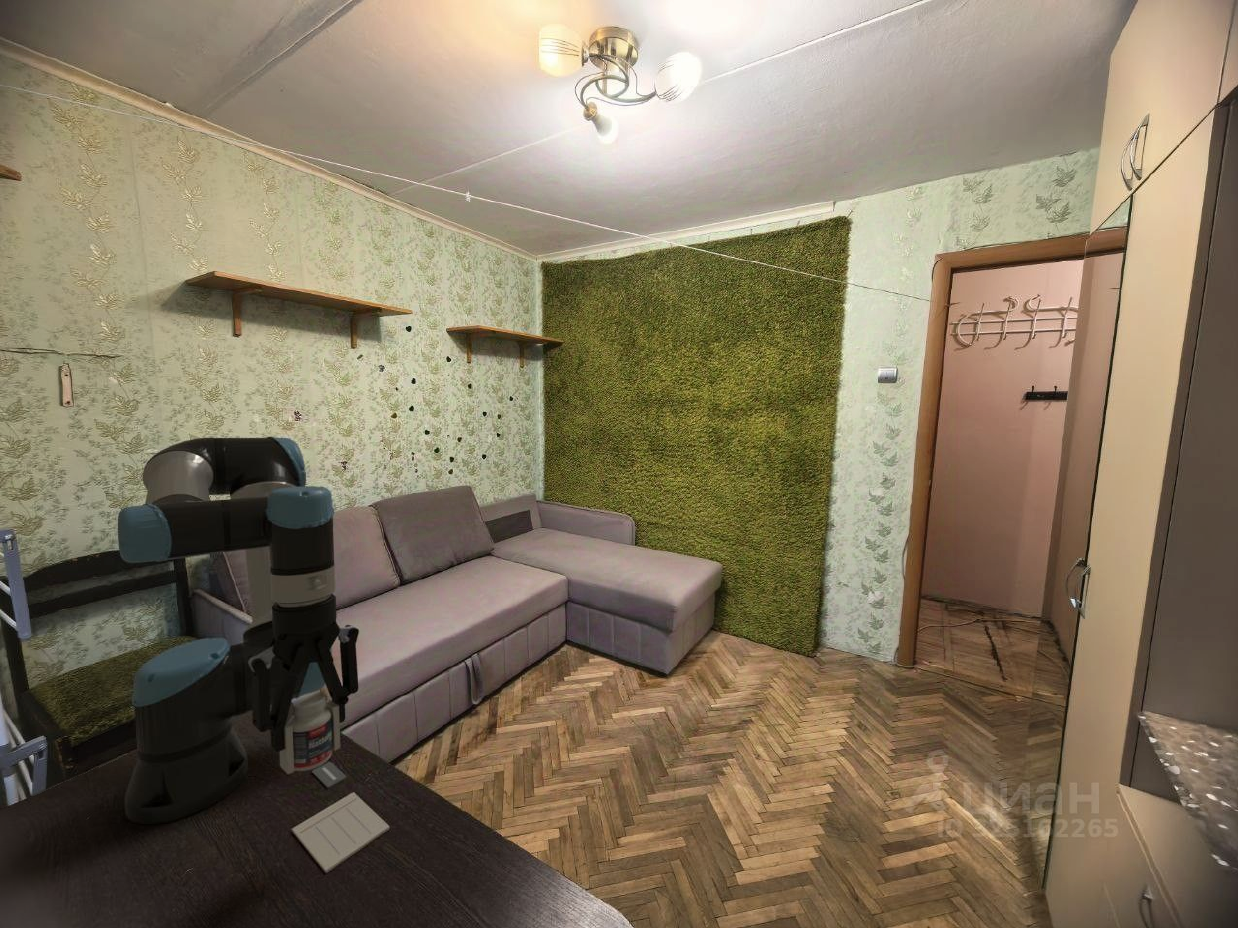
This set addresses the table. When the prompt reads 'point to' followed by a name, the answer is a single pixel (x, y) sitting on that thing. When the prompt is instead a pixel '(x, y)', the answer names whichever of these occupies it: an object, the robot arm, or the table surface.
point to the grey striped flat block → (329, 774)
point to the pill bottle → (311, 731)
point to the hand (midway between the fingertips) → (311, 756)
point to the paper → (340, 831)
